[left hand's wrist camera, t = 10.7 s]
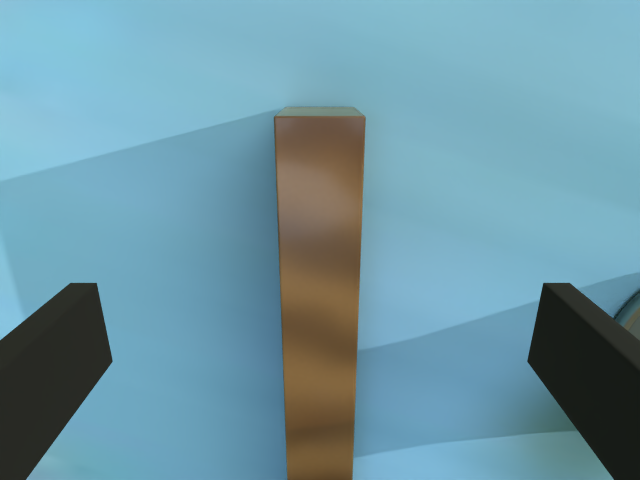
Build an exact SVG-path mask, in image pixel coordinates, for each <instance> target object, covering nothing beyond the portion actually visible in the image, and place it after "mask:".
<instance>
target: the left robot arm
mask: <svg viewBox="0 0 640 480" xmlns="http://www.w3.org/2000/svg"><path fill="white" fill-rule="evenodd" d="M112 362H113V361H112V356H111V351H110V346H109V341H108V336H107V331H106V327H105V322H104V317H103V312H102V307H101V302H100V297H99V292H98V287H97V283H70V284H69V285H67V286H66V287H65V288H64V289H63V290H61V291H60V292H59V293H58V294H56V295H55V296H54V297H53V298H52V299H50V300H49V301H48V302H47V303H45V304H44V305H43V306H42V307H41V308H39V309H38V310H37V311H36V312H34V313H33V314H32V315H31V316H30V317H28V318H27V319H26V320H25V321H23V322H22V323H21V324H20V325H19V326H17V327H16V328H15V329H14V330H12V331H11V332H10V333H9V334H8V335H6V336H5V337H4V338H3V339H1V340H0V480H26V479H27V477H28V476H29V475H30V473H31V472H32V471H33V469H34V468H35V466H36V465H37V464H38V462H39V461H40V460H41V458H42V457H43V456H44V454H45V453H46V452H47V450H48V449H49V447H50V446H51V445H52V443H53V442H54V441H55V439H56V438H57V437H58V435H59V434H60V432H61V431H62V430H63V428H64V427H65V426H66V424H67V423H68V422H69V420H70V419H71V417H72V416H73V415H74V413H75V412H76V411H77V409H78V408H79V407H80V405H81V404H82V402H83V401H84V400H85V398H86V397H87V396H88V394H89V393H90V392H91V390H92V389H93V388H94V386H95V385H96V383H97V382H98V381H99V379H100V378H101V377H102V375H103V374H104V373H105V371H106V370H107V368H108V367H109V366H110V364H111V363H112ZM527 362H528V363H529V364H530V366H531V367H532V368H533V370H534V371H535V373H536V374H537V375H538V377H539V378H540V379H541V381H542V382H543V383H544V385H545V386H546V388H547V389H548V390H549V392H550V393H551V394H552V396H553V397H554V398H555V400H556V401H557V402H558V404H559V405H560V407H561V408H562V409H563V411H564V412H565V413H566V415H567V416H568V417H569V419H570V420H571V422H572V423H573V424H574V426H575V427H576V428H577V430H578V431H579V432H580V434H581V435H582V437H583V438H584V439H585V441H586V442H587V443H588V445H589V446H590V447H591V449H592V450H593V452H594V453H595V454H596V456H597V457H598V458H599V460H600V461H601V462H602V464H603V465H604V466H605V468H606V469H607V471H608V472H609V473H610V475H611V476H612V477H613V479H614V480H640V292H639V293H638V294H637V295H636V296H634V297H633V298H632V299H631V300H630V301H629V302H628V303H627V305H626V306H625V307H624V308H623V309H622V311H621V312H620V313H619V315H618V316H617V317H616V319H615V320H614V319H613V318H612V317H610V316H609V315H608V314H607V313H606V312H604V311H603V310H602V309H601V308H599V307H598V306H597V305H596V304H595V303H593V302H592V301H591V300H590V299H588V298H587V297H586V296H585V295H584V294H582V293H581V292H580V291H579V290H577V289H576V288H575V287H574V286H573V285H571V284H570V283H543V287H542V292H541V297H540V302H539V307H538V312H537V317H536V322H535V327H534V331H533V336H532V341H531V346H530V351H529V356H528V361H527Z"/></svg>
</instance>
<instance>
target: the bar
mask: <svg viewBox="0 0 640 480" xmlns="http://www.w3.org/2000/svg"><path fill="white" fill-rule="evenodd" d="M274 134H275V161H276V188H277V215H278V242H279V269H280V296H281V323H282V350H283V377H284V404H285V431H286V458H287V480H352V477H353V450H354V422H355V395H356V367H357V339H358V312H359V284H360V256H361V229H362V201H363V174H364V146H365V116H364V115H363V114H362V113H360V112H359V111H358V110H357V109H356V108H354V107H285V108H284V109H283V110H282V111H280V112H279V113H278V114H277V115H276V116H274Z"/></svg>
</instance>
